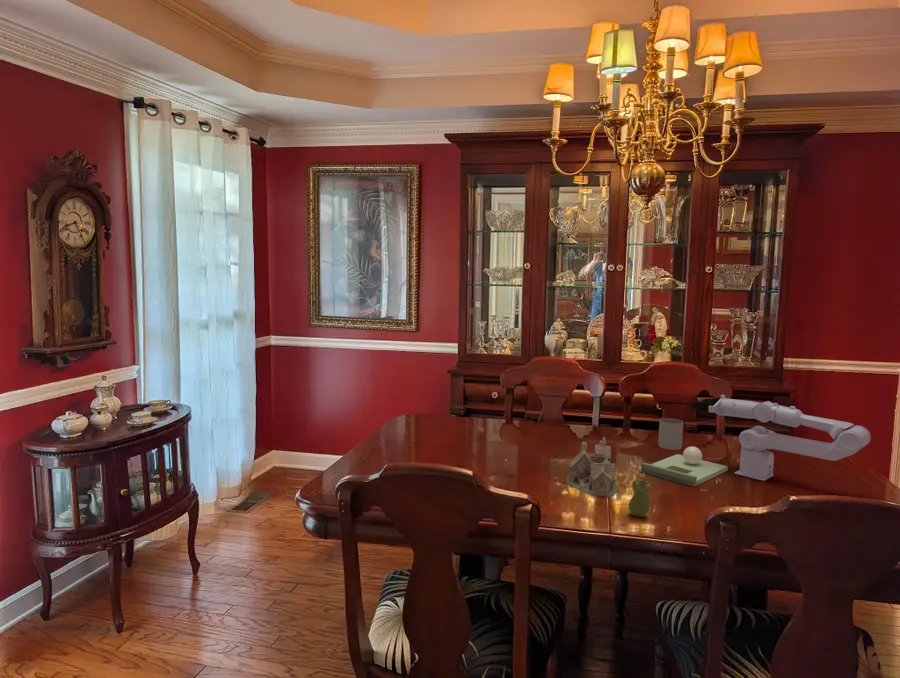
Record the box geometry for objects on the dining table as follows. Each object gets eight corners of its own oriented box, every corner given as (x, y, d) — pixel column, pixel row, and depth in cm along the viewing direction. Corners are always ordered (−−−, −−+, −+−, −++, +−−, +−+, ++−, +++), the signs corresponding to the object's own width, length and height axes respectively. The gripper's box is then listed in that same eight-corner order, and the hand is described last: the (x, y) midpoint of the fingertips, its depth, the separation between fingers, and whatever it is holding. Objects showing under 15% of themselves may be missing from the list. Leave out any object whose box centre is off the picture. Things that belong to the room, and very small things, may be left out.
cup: (683, 450, 232) (684, 424, 231) (659, 449, 234) (661, 422, 232) (679, 444, 240) (681, 419, 239) (657, 442, 242) (658, 417, 241)
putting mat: (727, 470, 209) (728, 461, 209) (693, 486, 193) (694, 477, 192) (676, 458, 222) (677, 450, 222) (641, 472, 206) (641, 463, 206)
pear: (650, 520, 166) (652, 484, 165) (630, 519, 167) (632, 483, 165) (645, 512, 172) (647, 477, 171) (626, 511, 172) (628, 476, 171)
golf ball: (704, 464, 211) (705, 447, 210) (696, 468, 206) (697, 450, 206) (687, 460, 215) (688, 443, 214) (679, 463, 211) (680, 446, 210)
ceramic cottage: (568, 474, 202) (572, 430, 199) (621, 483, 196) (624, 438, 193) (559, 493, 188) (562, 446, 185) (614, 503, 182) (618, 454, 179)
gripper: (746, 393, 212) (706, 389, 222) (727, 399, 202) (687, 394, 212) (745, 414, 212) (706, 409, 222) (727, 420, 203) (687, 415, 213)
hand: (697, 403), depth 217 cm, fingers open, 7 cm apart
